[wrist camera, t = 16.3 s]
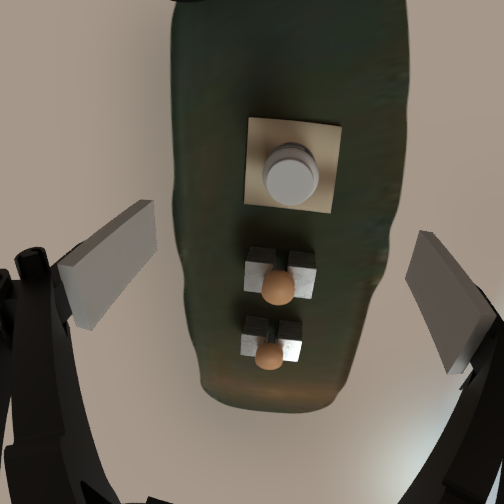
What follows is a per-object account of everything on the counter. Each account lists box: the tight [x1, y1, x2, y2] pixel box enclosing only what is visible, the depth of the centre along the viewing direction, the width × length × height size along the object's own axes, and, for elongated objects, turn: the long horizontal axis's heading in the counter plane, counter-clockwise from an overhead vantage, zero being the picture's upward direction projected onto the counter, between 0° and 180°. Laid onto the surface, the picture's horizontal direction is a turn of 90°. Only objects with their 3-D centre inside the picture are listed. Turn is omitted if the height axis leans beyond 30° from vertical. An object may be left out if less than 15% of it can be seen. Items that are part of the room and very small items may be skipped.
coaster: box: [244, 117, 342, 213], centre depth 33 cm, size 10×10×1 cm
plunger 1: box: [261, 265, 295, 305], centre depth 35 cm, size 4×4×5 cm
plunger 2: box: [255, 333, 283, 370], centre depth 40 cm, size 4×4×5 cm
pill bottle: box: [262, 142, 319, 205], centre depth 29 cm, size 5×5×9 cm
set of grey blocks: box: [241, 246, 317, 362], centre depth 39 cm, size 15×8×4 cm, turn 177°
